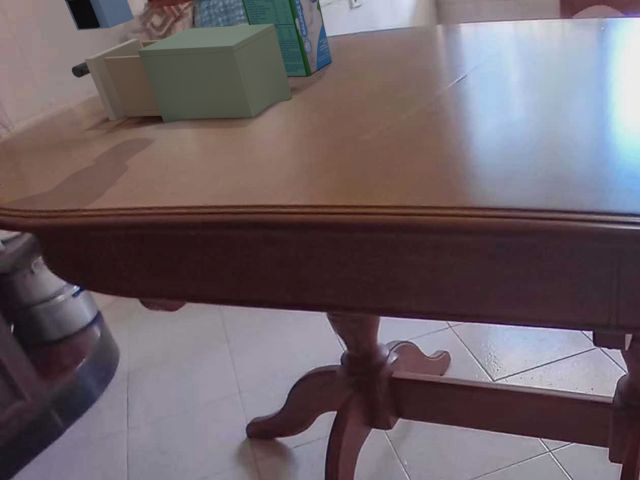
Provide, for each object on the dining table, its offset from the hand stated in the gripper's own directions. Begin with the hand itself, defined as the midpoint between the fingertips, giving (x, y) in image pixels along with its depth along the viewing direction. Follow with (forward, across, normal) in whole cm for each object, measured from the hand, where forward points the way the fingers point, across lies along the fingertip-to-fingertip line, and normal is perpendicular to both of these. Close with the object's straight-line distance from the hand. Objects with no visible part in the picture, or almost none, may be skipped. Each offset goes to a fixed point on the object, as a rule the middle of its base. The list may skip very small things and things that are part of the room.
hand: (104, 21), depth 90 cm
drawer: (+14, +10, +6) cm, 19 cm away
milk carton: (+16, +33, -7) cm, 37 cm away
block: (0, 0, 0) cm, 0 cm away
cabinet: (+15, +11, -7) cm, 20 cm away
